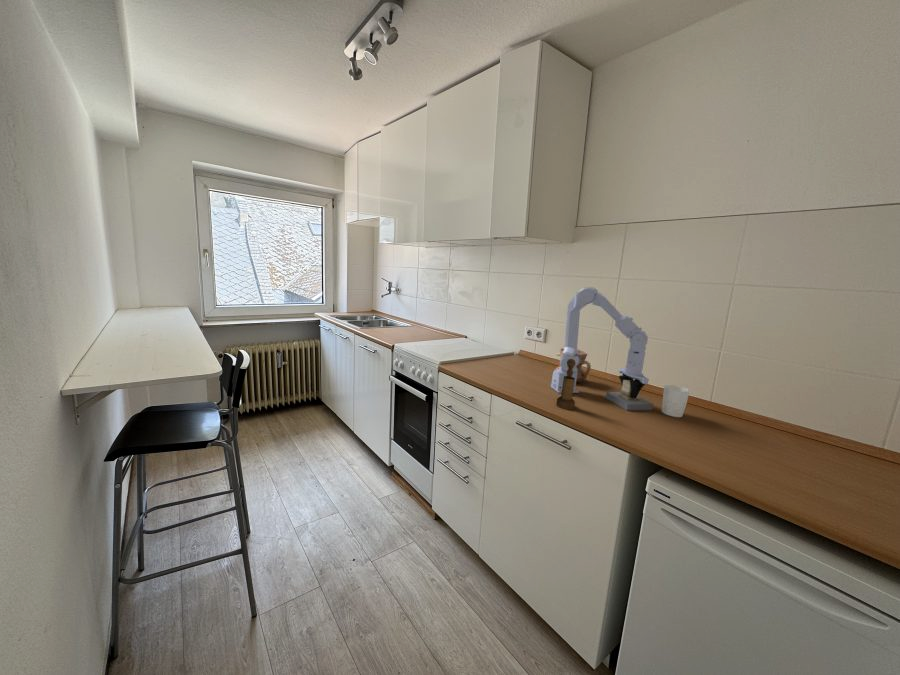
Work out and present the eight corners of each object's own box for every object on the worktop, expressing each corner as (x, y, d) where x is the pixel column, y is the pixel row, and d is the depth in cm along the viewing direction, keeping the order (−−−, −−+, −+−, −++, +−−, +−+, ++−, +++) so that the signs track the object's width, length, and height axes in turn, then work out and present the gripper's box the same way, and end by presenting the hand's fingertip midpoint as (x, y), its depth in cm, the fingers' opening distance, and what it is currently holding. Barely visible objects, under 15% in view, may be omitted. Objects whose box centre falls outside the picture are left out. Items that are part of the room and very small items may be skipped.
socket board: (626, 410, 134) (627, 404, 133) (605, 397, 146) (606, 392, 146) (652, 410, 136) (653, 403, 135) (629, 397, 148) (630, 392, 148)
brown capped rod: (575, 410, 130) (582, 362, 127) (557, 408, 131) (563, 360, 128) (573, 404, 136) (579, 358, 133) (555, 401, 137) (561, 356, 134)
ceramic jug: (545, 376, 172) (548, 347, 169) (565, 373, 180) (568, 345, 177) (576, 388, 157) (581, 357, 154) (596, 384, 165) (601, 354, 162)
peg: (626, 402, 138) (630, 383, 137) (620, 399, 142) (623, 379, 141) (636, 402, 139) (639, 383, 138) (629, 399, 143) (632, 379, 142)
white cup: (660, 414, 132) (665, 388, 130) (659, 408, 139) (663, 383, 137) (685, 419, 128) (690, 393, 126) (683, 413, 135) (688, 387, 133)
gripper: (658, 367, 132) (651, 402, 134) (631, 357, 146) (626, 389, 148) (641, 367, 130) (635, 402, 133) (616, 357, 144) (611, 389, 147)
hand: (629, 395), depth 140 cm, fingers closed on peg, 4 cm apart
